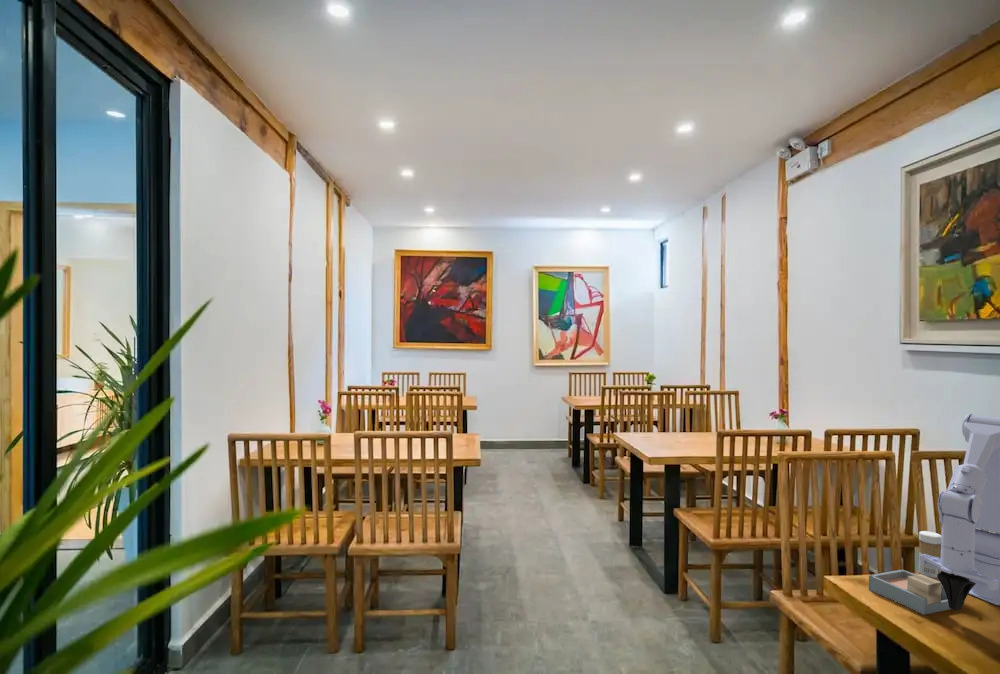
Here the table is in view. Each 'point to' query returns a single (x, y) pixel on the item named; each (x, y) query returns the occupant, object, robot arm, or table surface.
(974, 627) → the table surface
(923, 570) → the sprinkles bottle
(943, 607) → the trap box
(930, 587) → the beech block
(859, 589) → the table surface
